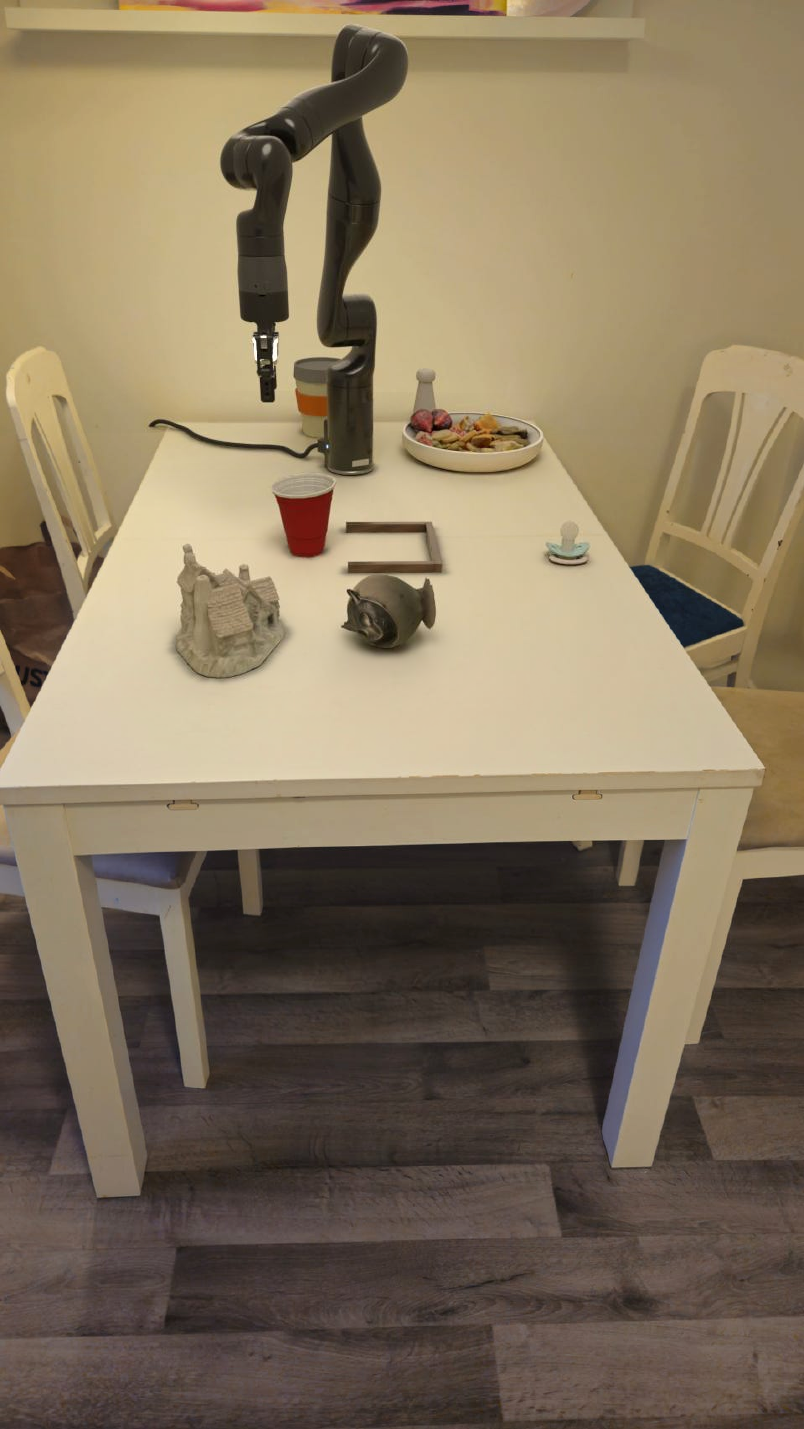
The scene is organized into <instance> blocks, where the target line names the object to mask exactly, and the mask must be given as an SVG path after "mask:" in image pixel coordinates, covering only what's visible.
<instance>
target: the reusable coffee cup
mask: <svg viewBox="0 0 804 1429" xmlns="http://www.w3.org/2000/svg"><path fill="white" fill-rule="evenodd" d="M341 359H342V358H337V357H330V356H329V357H327V356H313V357H305V358H300V359H297V360H295V361H294V362H293V374H292V376H293V379H294V380H295V386H296V388H295V389H294V392H295V393H294V394H295V398H296V404H297V410H298V412H299V414H300V418H301V419H300V420H301V425H302V430H303V434H304V435H305V436H308V437H312V438H319V439H321V438H324V420H325V419H327V385H326V371H327V368H328V367H329V366H330V365H331V364H333V363H335V362H337V361H339V360H341Z"/></svg>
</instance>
